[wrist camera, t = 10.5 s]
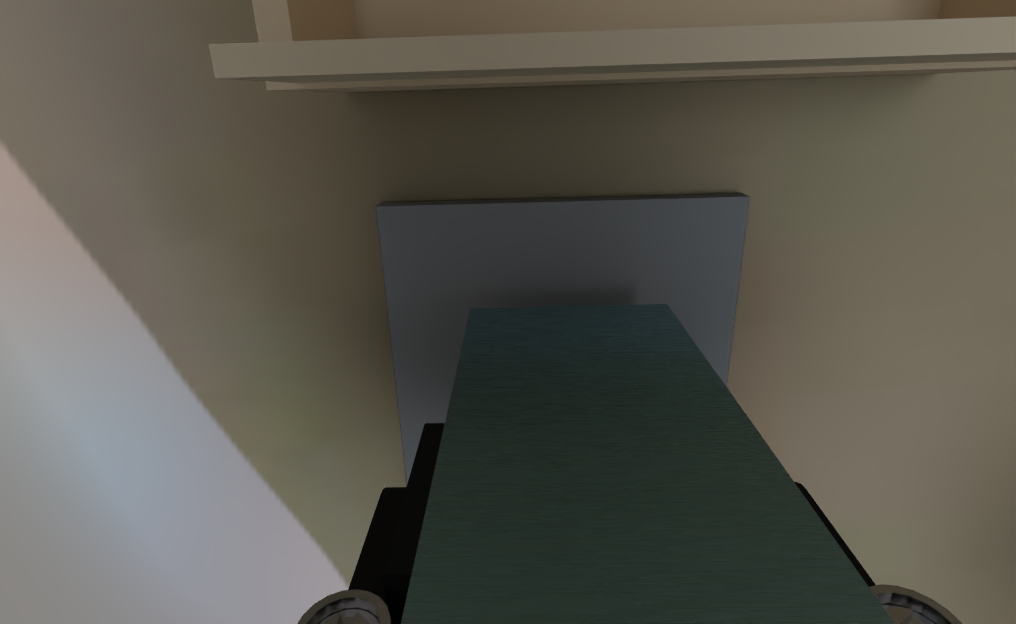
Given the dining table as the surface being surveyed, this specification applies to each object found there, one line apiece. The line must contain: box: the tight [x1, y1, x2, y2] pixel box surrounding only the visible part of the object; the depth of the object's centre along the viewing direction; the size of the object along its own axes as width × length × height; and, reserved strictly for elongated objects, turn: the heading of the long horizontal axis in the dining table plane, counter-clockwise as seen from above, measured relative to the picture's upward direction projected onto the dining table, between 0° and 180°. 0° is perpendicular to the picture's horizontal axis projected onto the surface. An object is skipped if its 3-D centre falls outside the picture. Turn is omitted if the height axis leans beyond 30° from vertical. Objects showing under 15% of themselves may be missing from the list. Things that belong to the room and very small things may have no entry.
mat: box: [376, 193, 750, 484], centre depth 17 cm, size 10×10×1 cm
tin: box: [401, 304, 895, 624], centre depth 10 cm, size 5×5×12 cm
